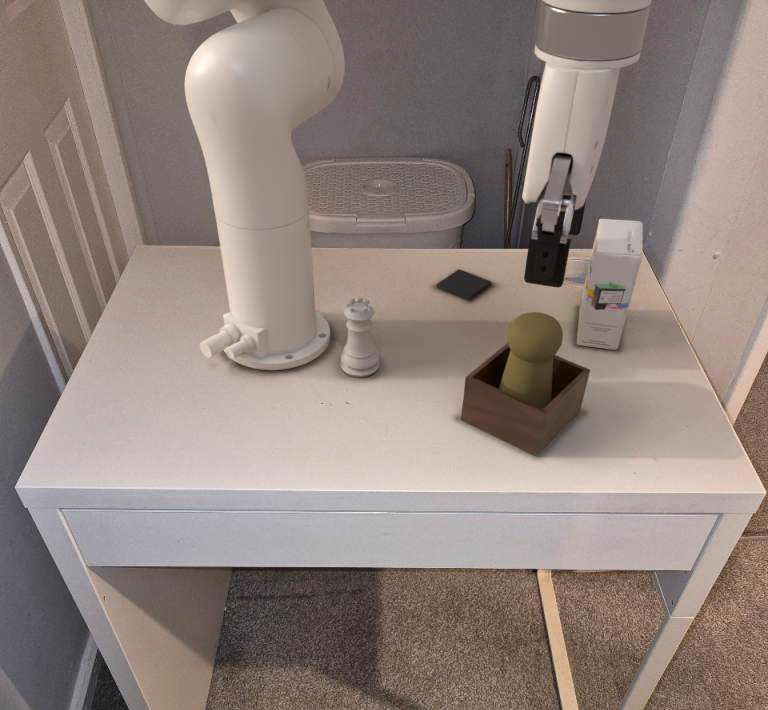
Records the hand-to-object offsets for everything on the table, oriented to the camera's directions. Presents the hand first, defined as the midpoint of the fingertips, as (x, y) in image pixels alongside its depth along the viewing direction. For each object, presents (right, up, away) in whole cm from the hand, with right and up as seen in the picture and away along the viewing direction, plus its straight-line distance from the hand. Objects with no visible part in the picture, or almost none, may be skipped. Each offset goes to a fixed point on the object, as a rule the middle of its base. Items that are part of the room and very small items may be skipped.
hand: (553, 256), depth 66 cm
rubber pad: (-5, +7, +31) cm, 32 cm away
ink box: (+11, -1, +25) cm, 27 cm away
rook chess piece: (-18, -6, +19) cm, 26 cm away
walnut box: (-1, -12, +13) cm, 18 cm away
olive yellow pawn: (-1, -12, +13) cm, 18 cm away
